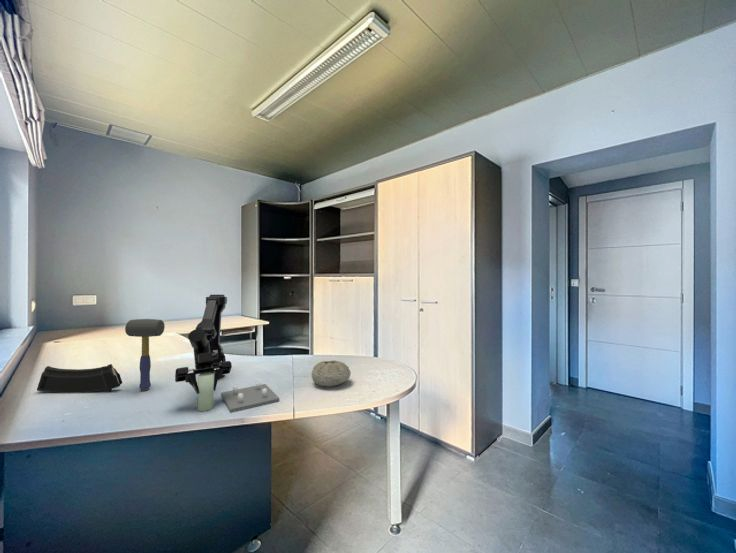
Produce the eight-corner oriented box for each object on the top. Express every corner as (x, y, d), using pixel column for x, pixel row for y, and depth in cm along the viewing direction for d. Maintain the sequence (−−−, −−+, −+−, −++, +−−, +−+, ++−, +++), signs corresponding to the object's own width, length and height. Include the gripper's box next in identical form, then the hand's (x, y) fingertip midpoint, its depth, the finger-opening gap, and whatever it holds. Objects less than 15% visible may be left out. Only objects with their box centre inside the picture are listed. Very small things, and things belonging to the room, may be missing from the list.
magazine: (29, 371, 124) (106, 349, 126) (37, 368, 127) (112, 347, 130) (43, 411, 125) (119, 389, 127) (50, 408, 128) (124, 386, 130)
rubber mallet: (165, 386, 135) (166, 317, 134) (155, 393, 127) (156, 320, 127) (134, 386, 133) (135, 317, 133) (123, 393, 126) (123, 320, 125)
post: (194, 410, 113) (194, 376, 113) (205, 404, 118) (206, 371, 118) (205, 412, 111) (205, 377, 111) (216, 406, 116) (217, 373, 116)
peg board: (220, 395, 126) (221, 385, 126) (265, 386, 137) (265, 377, 137) (230, 412, 112) (230, 401, 111) (279, 401, 122) (279, 390, 122)
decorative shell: (319, 375, 153) (319, 355, 153) (354, 378, 149) (354, 358, 149) (305, 388, 135) (305, 366, 135) (344, 392, 132) (344, 369, 132)
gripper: (175, 346, 112) (177, 386, 103) (231, 340, 123) (237, 376, 114) (174, 362, 119) (176, 401, 110) (226, 355, 129) (232, 390, 121)
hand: (206, 391), depth 113 cm, fingers closed on post, 5 cm apart
